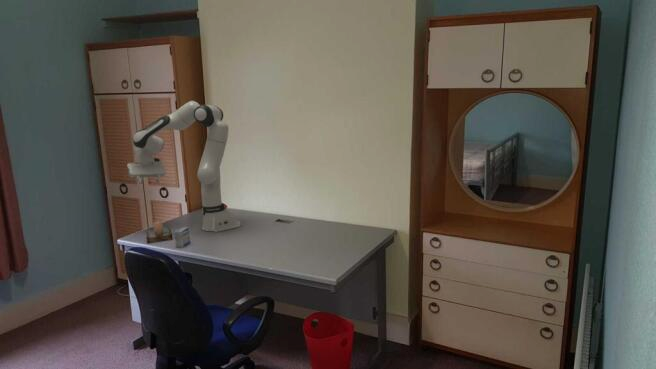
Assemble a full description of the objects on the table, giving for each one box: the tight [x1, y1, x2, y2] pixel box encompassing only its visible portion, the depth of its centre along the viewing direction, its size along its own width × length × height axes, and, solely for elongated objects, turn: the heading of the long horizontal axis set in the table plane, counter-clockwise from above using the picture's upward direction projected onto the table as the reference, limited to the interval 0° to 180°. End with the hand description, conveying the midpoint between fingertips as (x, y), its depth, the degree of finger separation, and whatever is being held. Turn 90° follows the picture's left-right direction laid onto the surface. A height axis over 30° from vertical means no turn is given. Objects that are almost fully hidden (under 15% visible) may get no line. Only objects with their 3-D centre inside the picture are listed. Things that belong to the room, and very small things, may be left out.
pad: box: [153, 226, 168, 236], centre depth 272 cm, size 7×10×1 cm
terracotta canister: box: [153, 220, 165, 237], centre depth 257 cm, size 4×4×10 cm
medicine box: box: [173, 226, 191, 248], centre depth 247 cm, size 8×4×9 cm, turn 168°
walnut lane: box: [145, 227, 173, 244], centre depth 260 cm, size 13×14×3 cm
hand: (149, 182), depth 266 cm, fingers open, 8 cm apart
